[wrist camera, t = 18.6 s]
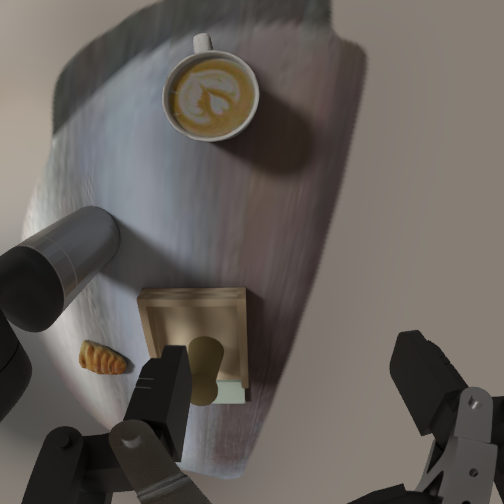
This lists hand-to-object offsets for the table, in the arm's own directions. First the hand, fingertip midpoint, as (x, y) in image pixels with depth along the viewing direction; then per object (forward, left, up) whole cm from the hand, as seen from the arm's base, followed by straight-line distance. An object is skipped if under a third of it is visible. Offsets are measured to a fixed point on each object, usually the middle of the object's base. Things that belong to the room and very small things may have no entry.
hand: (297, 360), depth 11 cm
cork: (-9, -25, -32) cm, 42 cm away
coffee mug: (-5, +14, -33) cm, 36 cm away
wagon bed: (-10, -23, -33) cm, 42 cm away
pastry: (-30, -28, -34) cm, 53 cm away
